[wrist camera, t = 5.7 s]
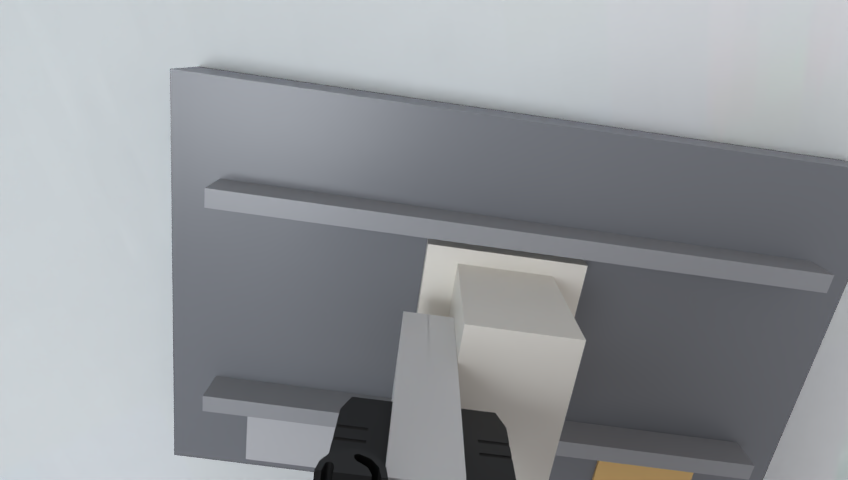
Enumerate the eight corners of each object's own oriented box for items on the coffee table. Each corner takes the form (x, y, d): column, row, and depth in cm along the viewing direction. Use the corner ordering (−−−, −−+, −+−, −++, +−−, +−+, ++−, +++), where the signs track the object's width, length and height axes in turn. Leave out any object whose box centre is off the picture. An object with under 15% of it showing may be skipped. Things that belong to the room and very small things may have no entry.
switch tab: (542, 411, 20) (574, 518, 15) (404, 393, 20) (395, 497, 15) (581, 256, 18) (631, 327, 13) (428, 235, 18) (426, 300, 13)
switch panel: (718, 486, 23) (760, 551, 20) (195, 420, 23) (159, 478, 20) (847, 161, 19) (926, 183, 16) (197, 66, 18) (150, 70, 15)
